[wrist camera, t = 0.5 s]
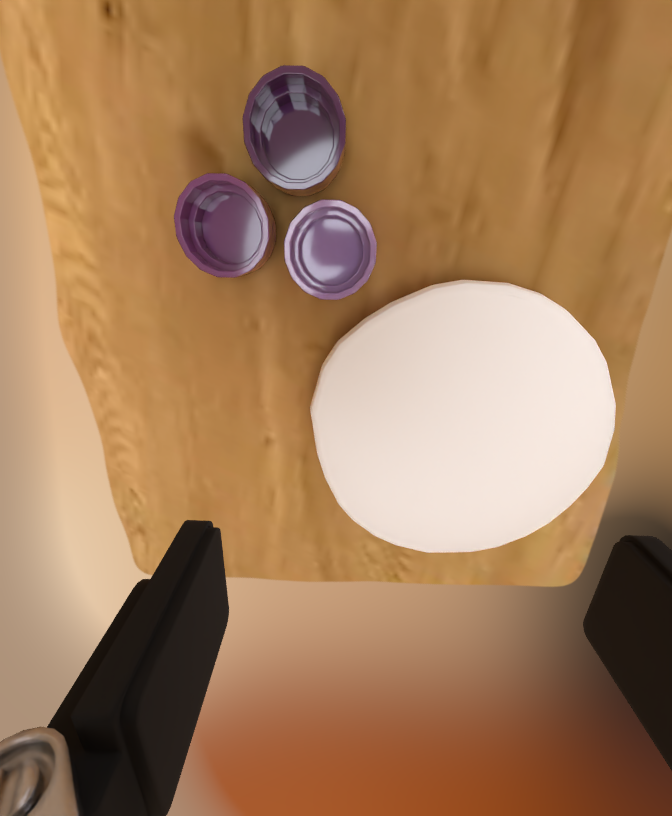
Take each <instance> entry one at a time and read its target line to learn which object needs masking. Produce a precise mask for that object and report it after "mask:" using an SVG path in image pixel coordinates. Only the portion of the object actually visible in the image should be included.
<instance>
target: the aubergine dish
mask: <svg viewBox="0 0 672 816" xmlns="http://www.w3.org/2000/svg"><path fill="white" fill-rule="evenodd" d="M243 131H244V142H245V145H246V148H247V150H248V153H249V155H250V158H251V160H252V163H253V164H254V166H255V167H256V168H257V169H258V170H259V171H260V172H261V173H262V175H263V176H264V177H265V178H266V179H267V180H268V181H269V182H270V183H271V184H272V185H273V186H274V187H276V188H277V189H279V190H281V191H283V192H285V193H287V194H289V195H292V196H310V195H312V194H314V193H317V192H319V191H321V190H323V189H325V188H326V187H327V186H328V185H329V184H330V182H331V181H332V180H333V179H334V178H335V177H336V176H337V174H338V172H339V170H340V167H341V164H342V162H343V159H344V156H345V137H346V118H345V115H344V112H343V108H342V105H341V102H340V99H339V96H338V94H337V93H336V92H335V91H334V89H333V88H332V87H331V85H330V84H329V83H328V81H327V80H326V79H325V78H324V77H323V76H322V75H320V74H318V73H316V72H314V71H313V70H311V69H309V68H307V67H305V66H285V65H283V66H280V67H278V68H276V69H275V70H273V71H271V72H269V73H267V74H265V75H263V76H262V78H261V79H260V80H259V82H258V83H257V84H256V86H255V87H254V88H253V90H252V91H251V92H250V94H249V96H248V100H247V103H246V107H245V111H244V114H243Z"/></svg>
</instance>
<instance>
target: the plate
mask: <svg viewBox="0 0 672 816" xmlns="http://www.w3.org/2000/svg"><path fill="white" fill-rule="evenodd" d="M615 408H616V404H615V399H614V395H613V390H612V385H611V380H610V376H609V371H608V366H607V362H606V360H605V358H604V357H603V355H602V353H601V351H600V349H599V347H598V345H597V343H596V341H595V340H594V339H593V338H592V337H591V335H590V334H589V333H588V332H587V331H586V330H585V329H584V328H583V327H582V326H581V325H580V324H579V323H578V322H577V321H576V319H575V318H574V317H573V316H572V315H571V314H570V313H569V312H568V311H567V310H566V309H564V308H563V307H561V306H560V305H558V304H557V303H555V302H553V301H552V300H550V299H549V298H547V297H545V296H544V295H542V294H541V293H538V292H535V291H531V290H528V289H525V288H522V287H519V286H516V285H513V284H510V283H503V282H488V281H474V280H458V281H452V282H447V283H441V284H435V285H430V286H428V287H426V288H423V289H421V290H419V291H416V292H414V293H412V294H409V295H407V296H404V297H402V298H400V299H397V300H395V301H393V302H390V303H389V304H387V305H386V306H384V307H382V308H381V309H379V310H377V311H376V312H374V313H372V314H371V315H369V316H368V317H366V318H364V319H363V320H362V321H361V322H360V323H358V324H357V325H356V326H355V327H354V328H352V329H351V330H350V331H349V332H348V333H346V334H345V335H344V336H343V337H342V338H340V339H339V340H338V341H337V343H336V344H335V346H334V347H333V349H332V350H331V352H330V353H329V355H328V356H327V358H326V360H325V361H324V363H323V364H322V367H321V371H320V374H319V377H318V381H317V384H316V388H315V391H314V395H313V398H312V402H311V405H310V412H311V418H312V425H313V431H314V437H315V444H316V450H317V454H318V458H319V461H320V464H321V467H322V470H323V473H324V476H325V479H326V480H327V482H328V484H329V486H330V488H331V490H332V492H333V494H334V496H335V498H336V500H337V502H338V504H339V505H340V506H341V507H342V508H343V510H344V511H345V512H346V513H347V514H348V515H349V516H350V518H351V519H352V520H353V521H355V522H356V523H358V524H359V525H360V526H362V527H363V528H365V529H366V530H367V531H369V532H370V533H372V534H373V535H374V536H376V537H379V538H381V539H383V540H385V541H388V542H390V543H392V544H394V545H397V546H402V547H406V548H410V549H414V550H419V551H423V552H427V553H431V552H473V551H479V550H484V549H489V548H494V547H499V546H501V545H504V544H506V543H509V542H512V541H514V540H517V539H519V538H522V537H525V536H527V535H529V534H531V533H532V532H534V531H536V530H538V529H539V528H541V527H543V526H545V525H546V524H548V523H549V522H551V521H552V520H553V519H554V518H556V517H557V516H558V515H559V514H561V513H562V512H563V511H564V510H566V509H567V508H568V507H569V506H570V505H571V504H572V503H573V502H574V501H575V500H576V499H577V498H578V497H579V496H580V495H581V494H582V493H583V492H584V491H585V490H586V489H587V488H588V486H589V485H590V483H591V482H592V481H593V479H594V478H595V477H596V475H597V474H598V473H599V471H600V470H601V469H602V467H603V466H604V463H605V459H606V456H607V453H608V449H609V446H610V442H611V439H612V435H613V432H614V427H615Z"/></svg>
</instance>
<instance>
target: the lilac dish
mask: <svg viewBox="0 0 672 816" xmlns="http://www.w3.org/2000/svg"><path fill="white" fill-rule="evenodd" d="M376 247H377V243H376V239H375V236H374V233H373V230H372V227H371V224H370V223H369V221H368V220H367V219H366V218H365V217H364V215H363V214H362V213H361V212H360V211H359V209H357V208H356V207H354V206H352V205H350V204H347V203H345V202H343V201H341V200H319V201H317V202H315V203H313V204H310V205H308V206H306V207H304V208H303V209H302V210H301V211H300V212H299V213H298V215H297V216H296V217H295V218H294V219H293V220H292V221H291V223H290V225H289V228H288V231H287V234H286V237H285V240H284V255H285V263H286V265H287V268H288V270H289V273H290V275H291V277H292V279H293V280H294V281H295V282H296V283H297V284H298V285H299V287H300V288H301V289H302V290H303V291H304V292H306V293H308V294H310V295H312V296H315V297H317V298H319V299H328V300H338V299H341V298H344V297H346V296H349V295H351V294H354V293H355V292H356V291H357V290H358V289H359V288H360V287H361V286H362V285H363V284H365V283H366V282H367V280H368V279H369V277H370V274H371V272H372V270H373V268H374V265H375V262H376Z"/></svg>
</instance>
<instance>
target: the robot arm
mask: <svg viewBox="0 0 672 816" xmlns="http://www.w3.org/2000/svg"><path fill="white" fill-rule="evenodd" d="M228 615H229V605H228V597H227V587H226V577H225V568H224V559H223V550H222V541H221V532H220V529H219V528H213V524H212V522H211V521H196V520H187V521H185V522H184V523H183V525H182V526H181V528H180V530H179V531H178V533H177V535H176V537H175V538H174V540H173V542H172V543H171V545H170V547H169V549H168V550H167V552H166V554H165V555H164V557H163V559H162V560H161V562H160V564H159V566H158V567H157V569H156V571H155V572H154V574H153V576H152V578H151V579H143V580H141V581H140V582H138V583H137V585H136V586H135V587H134V588H133V590H132V592H131V593H130V595H129V596H128V598H127V599H126V601H125V603H124V604H123V606H122V608H121V609H120V611H119V612H118V614H117V615H116V617H115V619H114V620H113V622H112V624H111V625H110V627H109V628H108V630H107V632H106V633H105V635H104V636H103V638H102V640H101V641H100V643H99V645H98V646H97V648H96V649H95V651H94V653H93V654H92V656H91V657H90V659H89V661H88V662H87V664H86V665H85V667H84V669H83V670H82V672H81V673H80V675H79V677H78V678H77V680H76V681H75V683H74V685H73V686H72V688H71V690H70V691H69V693H68V694H67V696H66V697H65V699H64V701H63V702H62V704H61V705H60V707H59V709H58V710H57V712H56V714H55V715H54V717H53V718H52V720H51V722H50V724H49V725H48V726H47V728H45V727H37V728H32V729H27V730H23V731H21V732H19V733H16V734H14V735H12V736H10V737H8V738H5V739H4V740H2V741H1V742H0V816H166V815H167V813H168V811H169V809H170V807H171V804H172V801H173V798H174V795H175V791H176V788H177V784H178V782H179V778H180V775H181V772H182V769H183V765H184V762H185V759H186V756H187V753H188V749H189V746H190V743H191V739H192V736H193V733H194V730H195V727H196V723H197V720H198V717H199V714H200V710H201V707H202V704H203V701H204V697H205V694H206V691H207V687H208V684H209V681H210V678H211V675H212V671H213V668H214V665H215V662H216V659H217V655H218V652H219V649H220V645H221V642H222V639H223V635H224V633H225V629H226V626H227V622H228ZM583 626H584V632H585V635H586V637H587V639H588V640H589V642H590V643H591V645H592V646H593V648H594V650H595V651H596V653H597V654H598V656H599V657H600V659H601V661H602V662H603V664H604V665H605V667H606V668H607V670H608V671H609V673H610V675H611V676H612V678H613V679H614V681H615V683H616V684H617V686H618V687H619V689H620V690H621V692H622V693H623V695H624V696H625V698H626V699H627V701H628V703H629V704H630V706H631V708H632V709H633V711H634V712H635V714H636V715H637V717H638V719H639V720H640V722H641V723H642V725H643V726H644V728H645V730H646V731H647V733H648V734H649V736H650V737H651V739H652V740H653V742H654V744H655V745H656V747H657V748H658V750H659V751H660V753H661V754H662V756H663V758H664V759H665V761H666V762H667V764H668V766H669V767H670V769H671V770H672V550H671V549H669V548H668V547H667V546H666V545H665V544H664V543H663V542H662V541H660V540H659V539H657V538H656V537H652V536H631V535H628V536H624V537H622V538H621V539H620V541H619V542H617V543H616V544H615V545H614V547H613V549H612V552H611V554H610V557H609V559H608V561H607V564H606V566H605V569H604V571H603V574H602V576H601V579H600V581H599V584H598V586H597V589H596V591H595V594H594V596H593V599H592V601H591V604H590V606H589V609H588V611H587V614H586V616H585V619H584V622H583Z"/></svg>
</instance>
